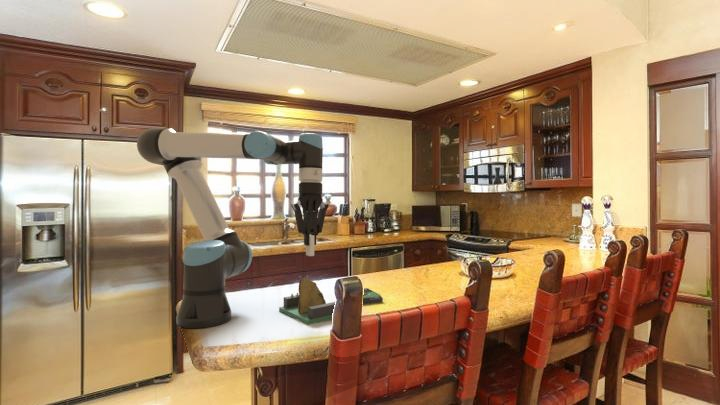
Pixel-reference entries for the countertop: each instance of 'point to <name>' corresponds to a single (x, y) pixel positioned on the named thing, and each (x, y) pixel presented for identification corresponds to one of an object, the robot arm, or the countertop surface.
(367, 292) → the disk drive
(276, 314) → the countertop surface
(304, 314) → the socket board
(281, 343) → the countertop surface
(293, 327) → the countertop surface
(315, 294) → the rock
